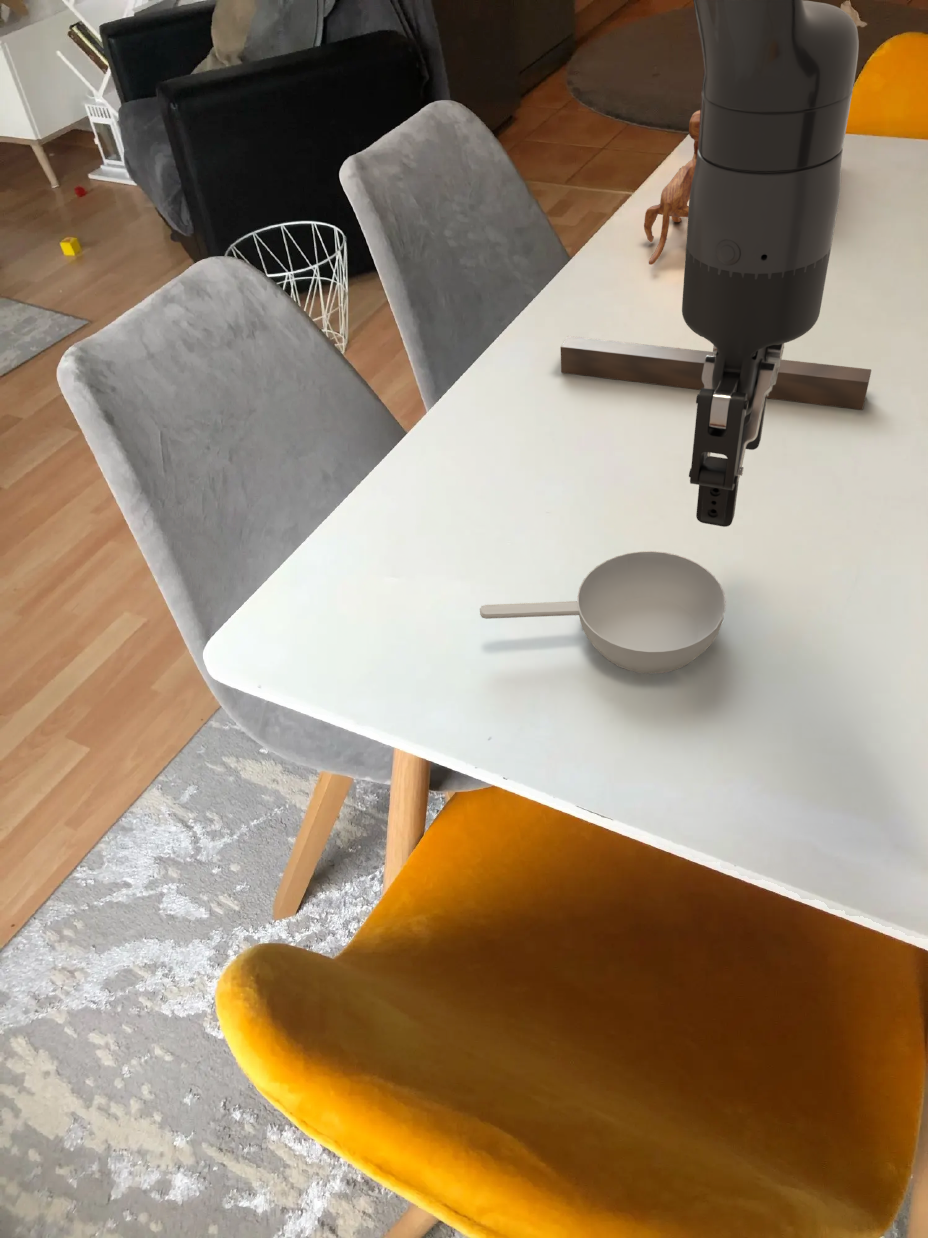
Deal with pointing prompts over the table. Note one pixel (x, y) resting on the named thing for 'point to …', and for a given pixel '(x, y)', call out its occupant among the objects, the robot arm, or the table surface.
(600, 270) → the table surface
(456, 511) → the table surface
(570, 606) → the saucepan
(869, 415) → the table surface
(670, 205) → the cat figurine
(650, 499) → the table surface
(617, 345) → the walnut rail
